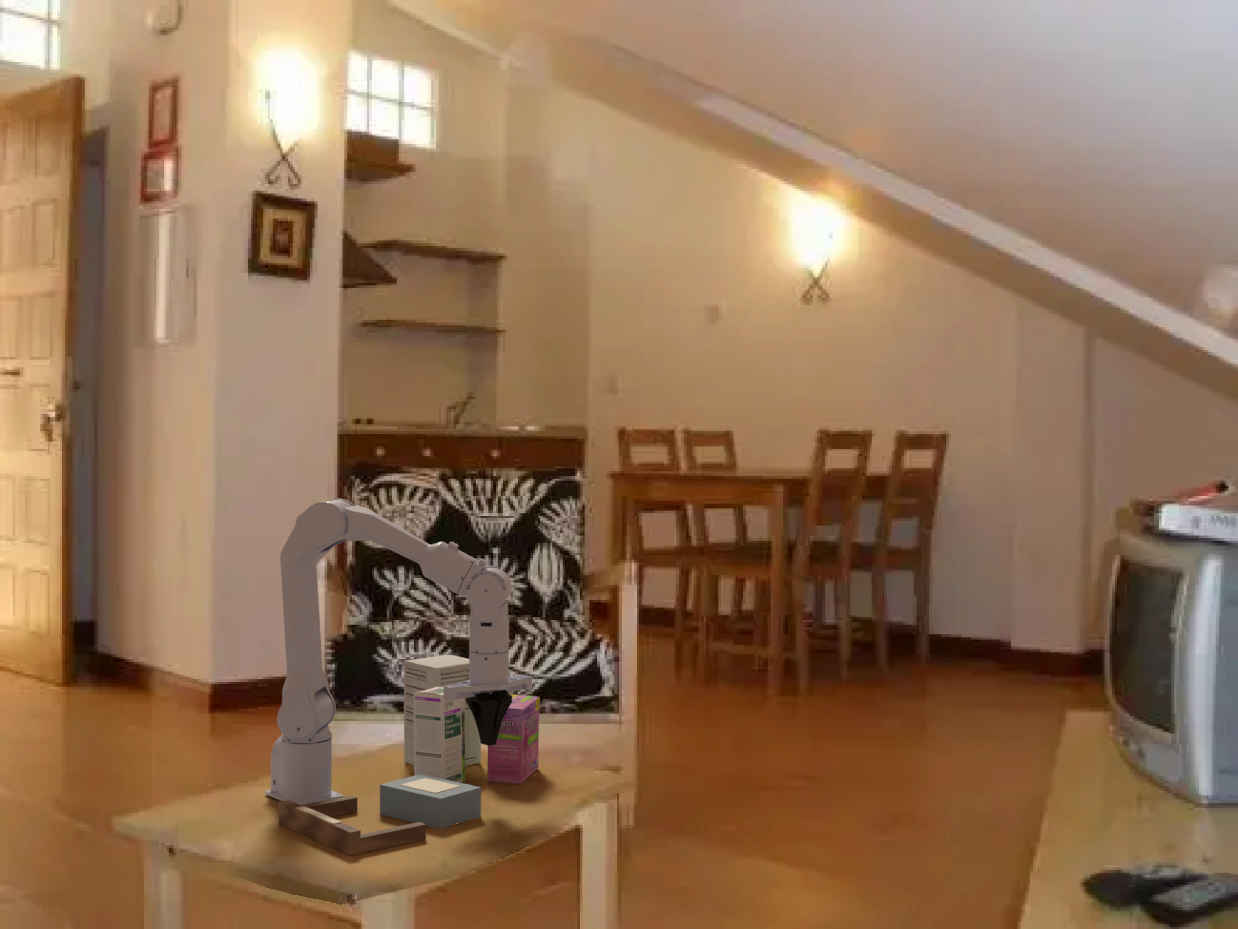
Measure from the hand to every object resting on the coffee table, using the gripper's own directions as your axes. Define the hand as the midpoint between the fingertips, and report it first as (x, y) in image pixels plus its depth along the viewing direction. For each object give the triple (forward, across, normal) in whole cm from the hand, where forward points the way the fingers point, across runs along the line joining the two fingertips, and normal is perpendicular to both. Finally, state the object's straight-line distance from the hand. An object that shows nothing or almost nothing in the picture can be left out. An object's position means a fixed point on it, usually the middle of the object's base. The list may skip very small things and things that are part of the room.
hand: (488, 744), depth 208 cm
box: (+9, +13, +11) cm, 19 cm away
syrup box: (+9, +1, +14) cm, 17 cm away
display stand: (+9, -23, 0) cm, 25 cm away
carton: (+9, -10, 0) cm, 13 cm away
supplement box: (+9, +9, +25) cm, 28 cm away
